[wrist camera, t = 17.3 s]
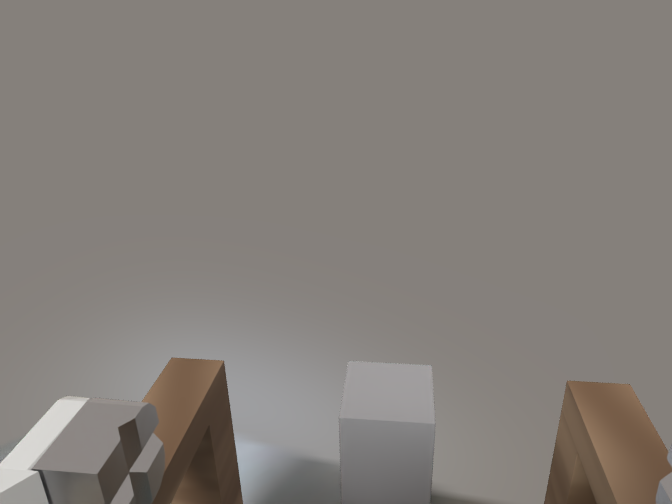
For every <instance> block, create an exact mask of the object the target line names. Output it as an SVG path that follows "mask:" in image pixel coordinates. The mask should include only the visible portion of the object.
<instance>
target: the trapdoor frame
mask: <svg viewBox="0 0 672 504" xmlns="http://www.w3.org/2000/svg"><path fill="white" fill-rule="evenodd" d="M142 402H146V403H150V404H152V405H154V406H155V407H156V411H157V415H158V419H159V423H158V425H157V427H156V428H155V430H154V432H153V433H154V434H155V435H156V436H157V437H158V438H159V439H160V440H161V441H162V442H163V445H164V450H165V470H164V474H163V478H162V482H161V486H160V488H159V491H158V493H157V495H156V497H155V499H154V501H153V502H152V503H151V504H243V500H242V493H241V485H240V478H239V470H238V463H237V455H236V448H235V440H234V433H233V426H232V418H231V411H230V403H229V396H228V388H227V381H226V373H225V366H224V361H219V360H202V359H185V358H171V360H170V361H169V362H168V364H167V365H166V367H165V368H164V370H163V371H162V373H161V374H160V376H159V377H158V379H157V380H156V382H155V383H154V384H153V386H152V387H151V389H150V390H149V392H148V393H147V395H146V396H145V398H144V399H143V400H142ZM667 455H668V450H667V449H666V447H665V445H664V443H663V441H662V440H661V438H660V436H659V435H658V433H657V431H656V429H655V428H654V426H653V424H652V422H651V421H650V419H649V417H648V415H647V414H646V412H645V410H644V408H643V406H642V405H641V403H640V401H639V399H638V398H637V396H636V394H635V392H634V391H633V389H632V387H631V385H630V384H615V383H598V382H580V381H567V384H566V389H565V395H564V400H563V405H562V410H561V416H560V421H559V427H558V432H557V437H556V443H555V449H554V454H553V459H552V464H551V470H550V475H549V480H548V486H547V492H546V497H545V502H544V504H656V494H657V490H658V486H659V482H660V480H661V479H663V478H664V477H665V476H667V475H668V474H670V473H671V472H672V467H671V465H670V463H669V462H668V460H667Z"/></svg>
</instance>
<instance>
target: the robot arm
mask: <svg viewBox="0 0 672 504" xmlns="http://www.w3.org/2000/svg"><path fill="white" fill-rule="evenodd" d="M158 423H159V419H158V415H157V411H156V407H155V406H154V405H152V404H150V403H146V402H135V401H124V400H113V399H102V398H85V397H74V396H66V397H63V398H61V399H58V400H57V401H56V402H55V404H54V405H53V406H52V407H51V408H50V409H49V410H48V411H47V412H46V413H45V414H44V416H43V417H42V418H41V419H40V420H39V421H38V422H37V423H36V424H35V426H34V427H33V428H32V429H31V430H30V431H29V432H28V433H27V434H26V435H25V437H24V438H23V439H22V440H21V441H20V442H19V443H18V444H17V445H16V447H15V448H14V449H13V450H12V451H11V452H10V453H9V454H8V455H7V456H6V458H5V459H4V460H3V461H2V462H1V463H0V504H151V503H152V502H153V501H154V499H155V497H156V495H157V493H158V491H159V488H160V486H161V482H162V478H163V474H164V470H165V450H164V445H163V442H162V441H161V440H160V439H159V438H158V437H157V436H156V435H155V434H154V433H153V432H154V430H155V428H156V427H157V425H158ZM667 460H668V462H669V463H670V465H671V467H672V444H671V446H670V449H669V452H668V455H667ZM656 504H672V472H671V473H670V474H668V475H667V476H665V477H664V478H663V479H661V480H660V482H659V486H658V490H657V494H656Z"/></svg>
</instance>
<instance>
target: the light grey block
mask: <svg viewBox="0 0 672 504" xmlns="http://www.w3.org/2000/svg"><path fill="white" fill-rule="evenodd" d="M435 424H436V423H435V408H434V393H433V378H432V366H431V365H413V364H392V363H373V362H355V361H348V366H347V372H346V378H345V385H344V390H343V396H342V403H341V408H340V415H339V435H340V472H341V504H430V501H431V486H432V470H433V455H434V439H435Z"/></svg>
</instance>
